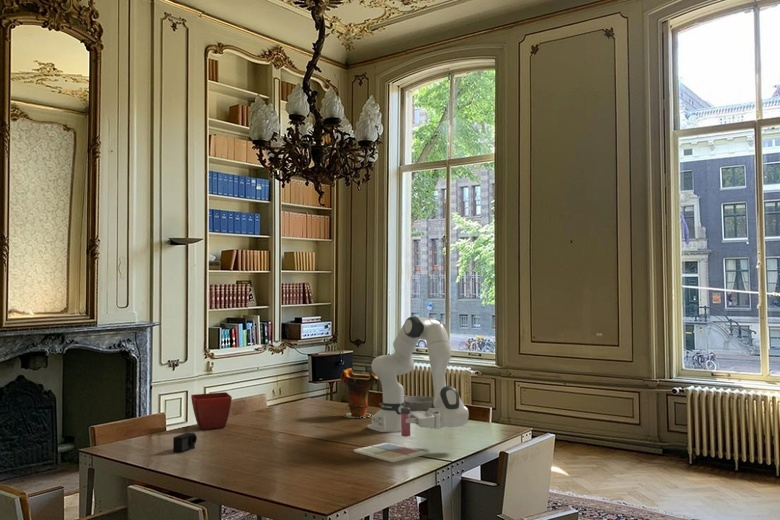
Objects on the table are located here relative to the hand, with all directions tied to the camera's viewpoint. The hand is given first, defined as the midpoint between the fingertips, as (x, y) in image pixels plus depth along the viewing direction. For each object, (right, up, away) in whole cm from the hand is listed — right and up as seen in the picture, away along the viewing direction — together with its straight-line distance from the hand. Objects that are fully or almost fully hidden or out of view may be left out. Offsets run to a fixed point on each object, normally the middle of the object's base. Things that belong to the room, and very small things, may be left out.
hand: (403, 419), depth 282 cm
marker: (+1, -7, 0) cm, 7 cm away
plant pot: (-103, -20, +62) cm, 122 cm away
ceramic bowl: (+10, -21, +89) cm, 92 cm away
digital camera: (-100, -17, +9) cm, 101 cm away
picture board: (-6, -15, 0) cm, 16 cm away
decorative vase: (-24, -21, +90) cm, 95 cm away
